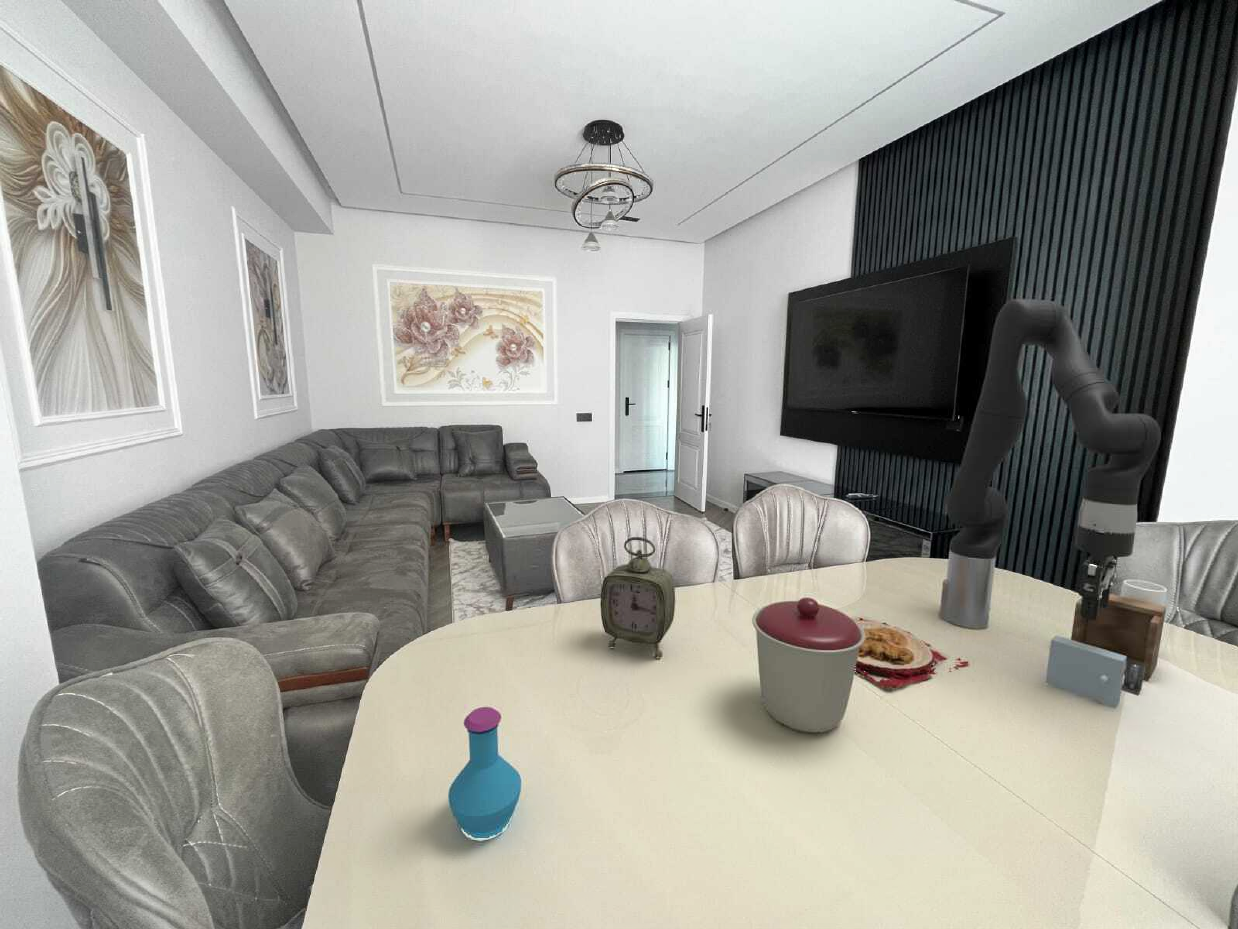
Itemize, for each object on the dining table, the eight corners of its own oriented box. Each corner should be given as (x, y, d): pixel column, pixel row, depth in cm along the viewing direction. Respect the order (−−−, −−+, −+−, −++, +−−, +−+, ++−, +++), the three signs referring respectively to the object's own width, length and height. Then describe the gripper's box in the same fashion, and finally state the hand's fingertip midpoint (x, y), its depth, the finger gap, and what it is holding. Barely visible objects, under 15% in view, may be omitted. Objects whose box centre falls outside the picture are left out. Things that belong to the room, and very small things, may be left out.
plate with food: (888, 698, 96) (890, 681, 96) (787, 633, 120) (788, 619, 119) (970, 670, 107) (972, 654, 106) (862, 615, 130) (863, 602, 130)
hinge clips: (1060, 669, 105) (1063, 645, 104) (1063, 664, 107) (1067, 641, 106) (1138, 695, 96) (1142, 670, 95) (1141, 690, 98) (1145, 665, 97)
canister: (853, 694, 96) (861, 586, 93) (864, 760, 79) (875, 630, 76) (752, 676, 102) (757, 574, 99) (743, 734, 85) (748, 613, 82)
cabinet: (1068, 656, 110) (1076, 598, 108) (1079, 643, 115) (1087, 588, 113) (1148, 681, 100) (1158, 618, 98) (1156, 666, 106) (1166, 606, 104)
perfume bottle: (458, 794, 72) (453, 695, 70) (525, 790, 73) (522, 692, 71) (441, 853, 63) (435, 741, 61) (518, 847, 64) (514, 737, 62)
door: (1043, 685, 99) (1049, 641, 98) (1049, 678, 102) (1055, 635, 100) (1114, 710, 91) (1121, 663, 90) (1119, 702, 94) (1126, 656, 92)
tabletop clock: (600, 650, 112) (600, 538, 108) (616, 632, 120) (616, 528, 116) (664, 664, 106) (666, 547, 103) (676, 644, 115) (678, 535, 111)
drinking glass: (1165, 660, 108) (1177, 592, 106) (1127, 657, 110) (1138, 589, 107) (1140, 645, 115) (1151, 580, 113) (1105, 641, 116) (1114, 578, 114)
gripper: (1087, 516, 99) (1077, 596, 102) (1068, 527, 91) (1056, 615, 93) (1142, 523, 93) (1130, 609, 96) (1127, 537, 85) (1113, 630, 87)
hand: (1094, 612), depth 94 cm, fingers open, 8 cm apart
